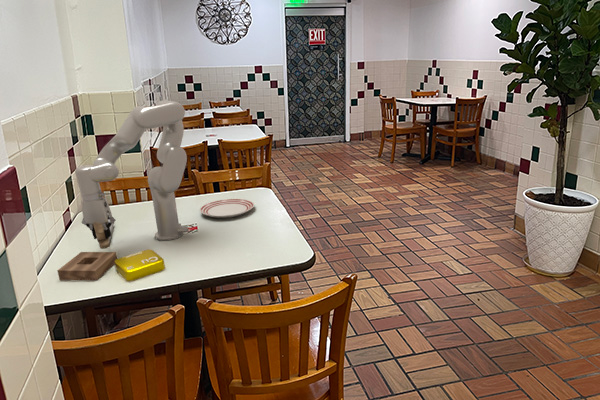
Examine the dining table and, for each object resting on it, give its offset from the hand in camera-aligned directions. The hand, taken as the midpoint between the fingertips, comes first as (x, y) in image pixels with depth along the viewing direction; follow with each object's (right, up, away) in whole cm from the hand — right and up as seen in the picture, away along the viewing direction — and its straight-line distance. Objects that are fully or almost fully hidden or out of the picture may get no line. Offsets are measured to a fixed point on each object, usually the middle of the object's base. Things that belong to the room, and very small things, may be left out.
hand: (102, 237), depth 193 cm
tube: (-7, -2, +21) cm, 23 cm away
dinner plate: (+45, +9, +44) cm, 63 cm away
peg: (0, -4, +2) cm, 4 cm away
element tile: (+20, -12, -13) cm, 27 cm away
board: (0, -12, -12) cm, 17 cm away
